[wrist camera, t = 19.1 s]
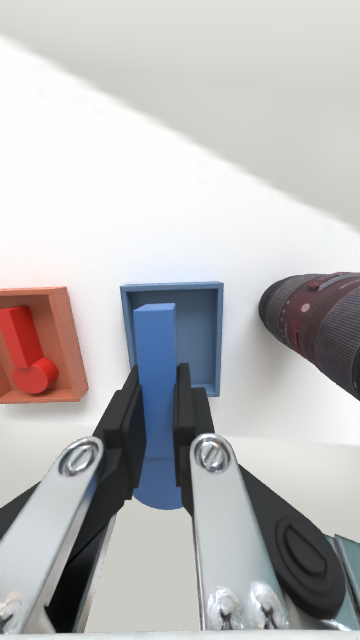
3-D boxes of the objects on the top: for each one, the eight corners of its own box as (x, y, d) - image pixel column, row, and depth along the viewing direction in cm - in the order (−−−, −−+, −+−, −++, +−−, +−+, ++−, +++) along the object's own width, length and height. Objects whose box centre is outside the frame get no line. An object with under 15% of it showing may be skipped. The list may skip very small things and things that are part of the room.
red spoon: (61, 383, 24) (48, 396, 21) (30, 384, 24) (13, 397, 21) (40, 305, 21) (21, 309, 18) (4, 306, 21) (-19, 311, 18)
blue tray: (126, 284, 21) (119, 286, 18) (218, 281, 21) (223, 282, 18) (138, 387, 25) (134, 399, 22) (215, 384, 25) (219, 396, 22)
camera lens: (240, 321, 22) (355, 416, 8) (275, 261, 20) (521, 237, 6) (291, 345, 23) (478, 468, 9) (330, 290, 21) (657, 333, 7)
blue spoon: (203, 471, 11) (210, 524, 9) (137, 472, 11) (124, 526, 9) (201, 302, 9) (208, 307, 7) (120, 304, 9) (96, 311, 7)
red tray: (-26, 289, 21) (-52, 292, 18) (66, 286, 21) (51, 288, 18) (12, 391, 25) (-6, 404, 22) (88, 388, 25) (79, 401, 22)
